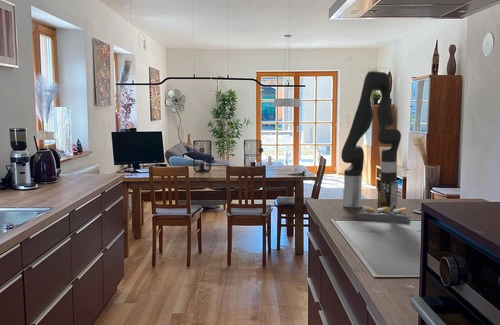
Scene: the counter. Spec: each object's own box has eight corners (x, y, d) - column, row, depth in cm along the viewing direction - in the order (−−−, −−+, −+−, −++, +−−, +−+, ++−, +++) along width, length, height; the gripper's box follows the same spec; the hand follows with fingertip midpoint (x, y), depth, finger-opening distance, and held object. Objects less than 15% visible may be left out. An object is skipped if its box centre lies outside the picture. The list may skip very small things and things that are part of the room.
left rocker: (361, 209, 232) (362, 206, 232) (362, 208, 236) (363, 204, 235) (372, 213, 230) (373, 209, 230) (373, 211, 234) (374, 208, 234)
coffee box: (376, 209, 251) (377, 179, 249) (387, 209, 253) (388, 179, 251) (386, 213, 242) (387, 181, 241) (397, 212, 244) (398, 181, 243)
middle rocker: (377, 213, 230) (377, 209, 230) (378, 211, 233) (377, 208, 233) (389, 211, 228) (388, 207, 228) (390, 209, 231) (389, 206, 231)
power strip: (357, 219, 228) (357, 212, 228) (359, 215, 237) (360, 209, 236) (407, 223, 220) (407, 216, 220) (408, 219, 228) (408, 212, 228)
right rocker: (394, 214, 227) (393, 211, 227) (394, 213, 230) (393, 209, 230) (405, 212, 225) (404, 208, 225) (406, 210, 228) (405, 207, 228)
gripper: (382, 169, 235) (381, 203, 237) (379, 172, 223) (378, 208, 224) (397, 169, 232) (397, 204, 234) (395, 172, 220) (395, 209, 222)
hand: (388, 206), depth 229 cm, fingers closed
